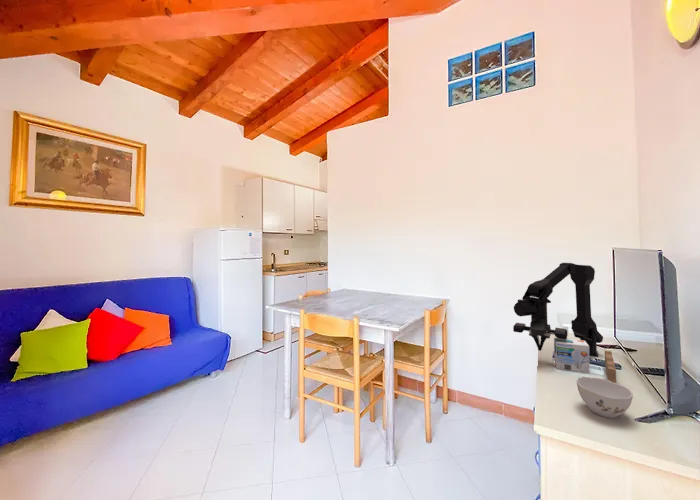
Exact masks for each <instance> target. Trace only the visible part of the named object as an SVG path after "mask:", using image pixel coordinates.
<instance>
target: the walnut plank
mask: <svg viewBox="0 0 700 500" xmlns="http://www.w3.org/2000/svg"><path fill="white" fill-rule="evenodd" d="M614 361H615V360H614V356H613V353H612V351H609V350H604V367H605V373H606V380H609V381H611V382H613V383H617V369H616V365H615V362H614Z"/></svg>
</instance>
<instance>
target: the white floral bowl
mask: <svg viewBox="0 0 700 500" xmlns="http://www.w3.org/2000/svg"><path fill="white" fill-rule="evenodd" d="M576 387H577V390H578V394H579V395H580V396H579V397H580V398H581V399H582V401H583V402H584V403H585V405H586V406H587V407H588V408H589V409H590V410H591V412H593V413H594V414H596V415H598V416H601V417H603V418H604V417H605V418H608V419H609V418H610V419H615V418H617V417H619V416H621V415H623V414H624V413H626V412H627V411H628V409H629V408H630V406H631V405H632V404H631V403H632V402H633V398H634V393H633V392H632V390H631V389H629V388H628V387H627V386H625V385H622V384H620V383H617V382H616V383H613V382H611V381H609V380H607V379H605V378H601V377H591V376H581V377H578V378H577V379H576Z"/></svg>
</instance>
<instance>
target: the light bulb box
mask: <svg viewBox="0 0 700 500" xmlns="http://www.w3.org/2000/svg"><path fill="white" fill-rule="evenodd" d="M553 350H554V351H553V353H554V355H553V357H554V358H553V360H554V361H555V363H554V364H555V368H556V369H557V370H563V371H571V372H578V373H583V374H590V355H589V345H588V344H587V343H586V341H583V340H580V339H579V340H578V339H570V338H567V339H561V338H557V337H553ZM554 361H553V362H554Z"/></svg>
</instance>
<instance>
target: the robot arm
mask: <svg viewBox="0 0 700 500" xmlns="http://www.w3.org/2000/svg"><path fill="white" fill-rule="evenodd" d="M558 265H559V266H557V267H556V268H554V270H552V271H551V272H550V273H549V274H547V275H546V276H544V278H542V279H540V280H537V281H534V282H532V283H530V284H529V285H528V287H527V289H526V291H525V292H524V295H523V296H522V299H520V298H519V299H517V302H516V303H514V306H513V311H514V313H515V315H516V316H518V317H526V316H527V317H528V316H529V317H530V318H531V319H530V324H529V325H530V326H529V325H528V326H527V325H526V323H522V322H516V323H514V325H513V327H512V329H513V332H514V333H519V334H520V333H523V332H524V331H525V332H526V331H527V332H528V335H529V337H532V338H533V340H534V342H535V344H536V348H537V350H538V351H539V352H541V351H542V350H543V346H544V344H545V342H546V340H547V339H550V337H551V335H554V337H555V338H561V339H568V329H566V328H562V327H555V329H551V324H548V304H550V303H552V301H551V300H550V299H548V298H549V297H550V296H551V295H552V293H553V291H554V288H555V287H556V286H557V285H558V284H560V282H562V281H563V280H564V279H566V278H567V277H568V276H569V275H570V277H569V278H570V279H571V281H572V282H573V284H574V286H575V287H574V288H575V300H576V301H575V302H576V303H575V305H576V306H575V307H576V317H575V318H574V319H571V327H570V328H571V330H572V333H573V336H574V338H578V339H579V340H583V341H586V343H587V344H588V345H589V356H591V357H599V351H598V347H597V346H598V345H597V344H601V343H602V342H603V339H604V335H602V334H601V333H600V332H599V331H598V327H597V323H596V322H595V320H594V319H593V317H592V307H591V306H592V305H591V303H592V302H591V284H592V283H593V281H594V280H595V273H596V271H595V268H594V267H593V266H592V265H588V264H576V263H572V262H561V263H559V264H558Z"/></svg>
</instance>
